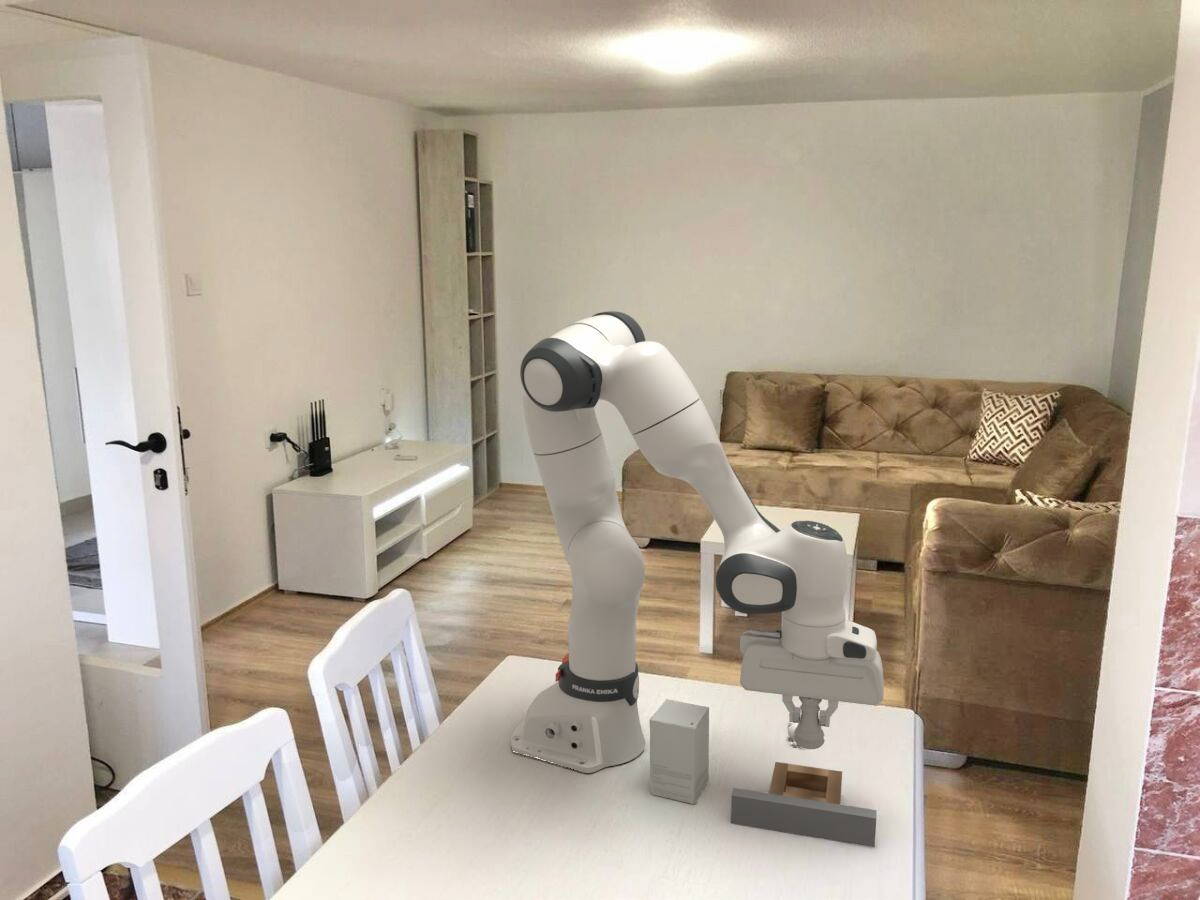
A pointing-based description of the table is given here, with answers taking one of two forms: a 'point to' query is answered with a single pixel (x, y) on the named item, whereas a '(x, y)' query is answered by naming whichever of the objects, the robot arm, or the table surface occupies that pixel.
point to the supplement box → (679, 751)
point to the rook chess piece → (809, 725)
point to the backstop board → (804, 817)
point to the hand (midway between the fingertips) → (809, 722)
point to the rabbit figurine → (792, 732)
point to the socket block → (806, 782)
